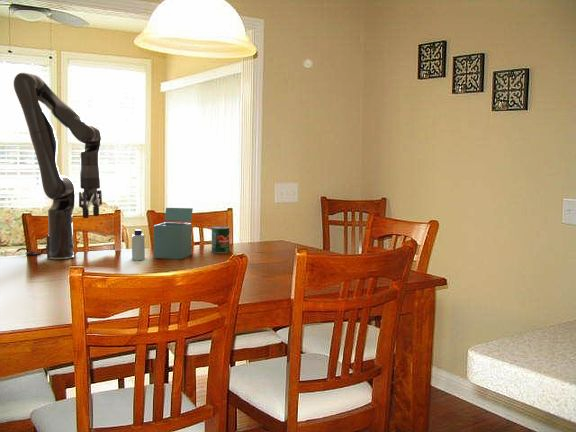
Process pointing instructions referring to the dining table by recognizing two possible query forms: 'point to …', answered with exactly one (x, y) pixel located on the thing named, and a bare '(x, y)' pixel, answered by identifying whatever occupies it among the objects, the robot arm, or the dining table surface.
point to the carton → (172, 240)
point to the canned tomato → (220, 239)
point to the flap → (178, 214)
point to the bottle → (138, 245)
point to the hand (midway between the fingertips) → (91, 217)
